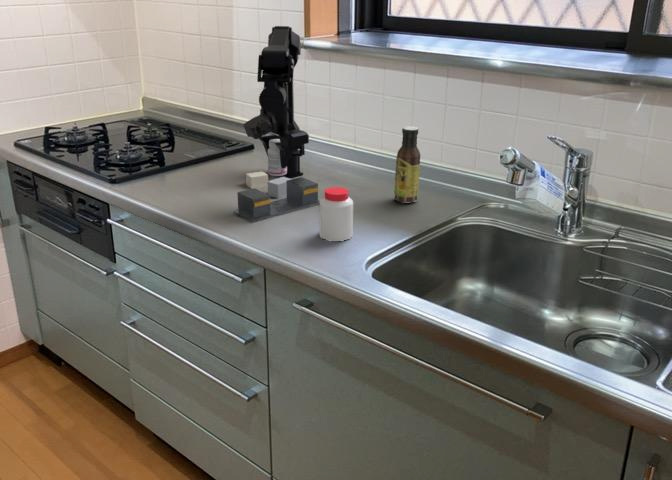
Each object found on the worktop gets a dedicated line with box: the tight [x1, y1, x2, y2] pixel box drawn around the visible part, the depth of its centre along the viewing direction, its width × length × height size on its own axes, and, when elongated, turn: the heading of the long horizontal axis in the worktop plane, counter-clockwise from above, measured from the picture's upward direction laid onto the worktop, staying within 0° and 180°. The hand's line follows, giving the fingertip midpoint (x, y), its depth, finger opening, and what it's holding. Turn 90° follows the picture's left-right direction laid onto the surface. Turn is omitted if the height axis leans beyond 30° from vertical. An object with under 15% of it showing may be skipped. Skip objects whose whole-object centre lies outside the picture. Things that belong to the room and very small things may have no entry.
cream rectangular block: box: [245, 171, 269, 189], centre depth 190 cm, size 5×4×4 cm
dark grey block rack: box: [233, 176, 321, 224], centre depth 172 cm, size 22×8×6 cm, turn 130°
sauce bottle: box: [393, 125, 421, 203], centre depth 176 cm, size 6×6×20 cm
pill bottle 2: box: [319, 186, 354, 242], centre depth 155 cm, size 8×8×11 cm
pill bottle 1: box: [267, 139, 287, 177], centre depth 168 cm, size 5×5×8 cm
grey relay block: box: [267, 176, 292, 199], centre depth 183 cm, size 6×4×4 cm, turn 140°
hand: (277, 165), depth 169 cm, fingers closed on pill bottle 1, 5 cm apart
